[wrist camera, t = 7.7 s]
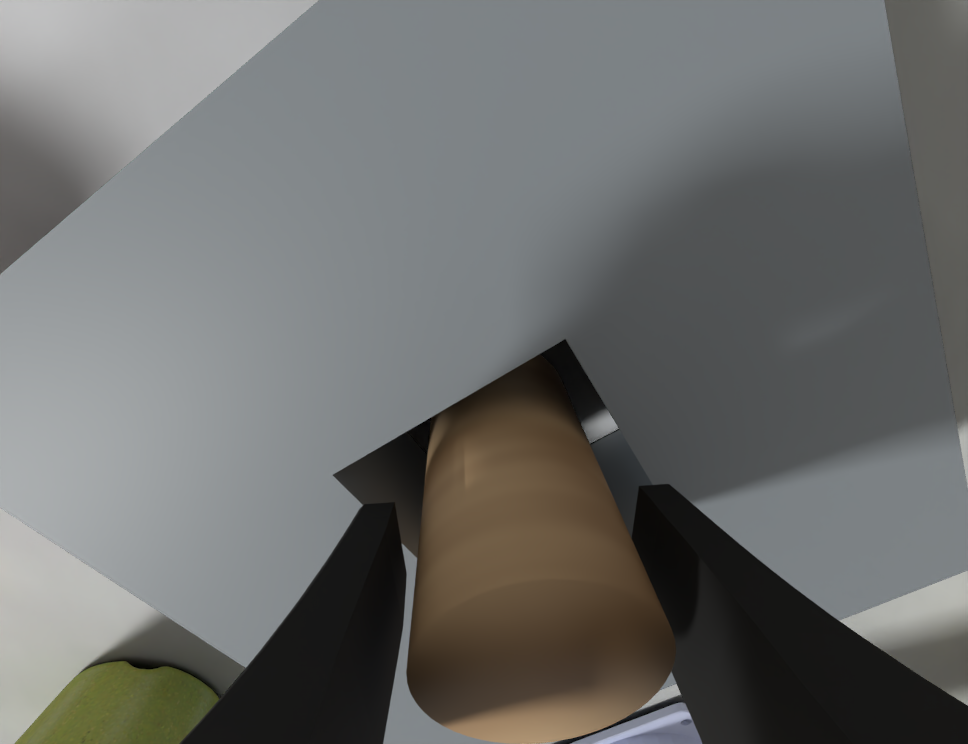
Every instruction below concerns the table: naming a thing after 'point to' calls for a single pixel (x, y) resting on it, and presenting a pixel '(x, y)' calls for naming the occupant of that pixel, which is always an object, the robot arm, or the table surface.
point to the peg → (528, 575)
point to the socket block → (494, 300)
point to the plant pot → (123, 707)
